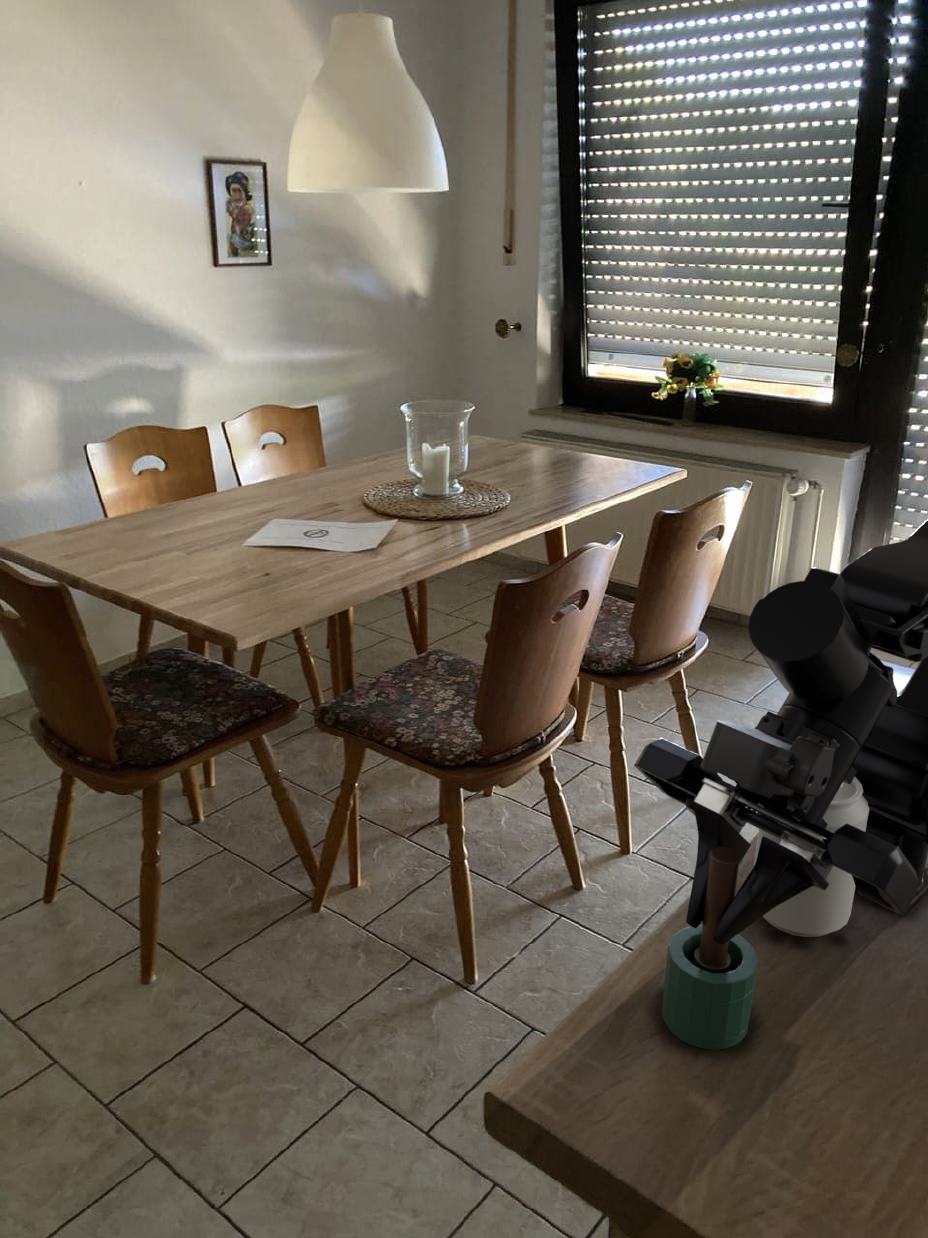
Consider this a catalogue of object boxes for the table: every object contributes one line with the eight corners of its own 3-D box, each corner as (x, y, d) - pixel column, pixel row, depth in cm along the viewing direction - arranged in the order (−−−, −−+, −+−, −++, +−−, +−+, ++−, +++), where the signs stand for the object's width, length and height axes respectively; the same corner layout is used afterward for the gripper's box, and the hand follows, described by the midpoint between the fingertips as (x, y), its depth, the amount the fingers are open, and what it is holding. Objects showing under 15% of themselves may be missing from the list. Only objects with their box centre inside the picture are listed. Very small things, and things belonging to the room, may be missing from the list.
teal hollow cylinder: (692, 977, 74) (700, 913, 72) (764, 1019, 70) (773, 953, 68) (645, 1017, 70) (651, 952, 68) (717, 1064, 66) (726, 996, 64)
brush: (706, 987, 71) (724, 839, 66) (732, 1008, 69) (753, 858, 65) (681, 1000, 70) (697, 851, 65) (706, 1022, 68) (725, 870, 63)
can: (756, 874, 85) (773, 746, 81) (851, 897, 82) (875, 765, 78) (741, 929, 79) (759, 793, 74) (845, 955, 76) (870, 815, 71)
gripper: (662, 630, 70) (541, 828, 67) (930, 729, 57) (793, 980, 54) (720, 701, 77) (614, 881, 75) (967, 802, 64) (849, 1025, 62)
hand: (703, 933), depth 66 cm, fingers closed on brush, 2 cm apart
